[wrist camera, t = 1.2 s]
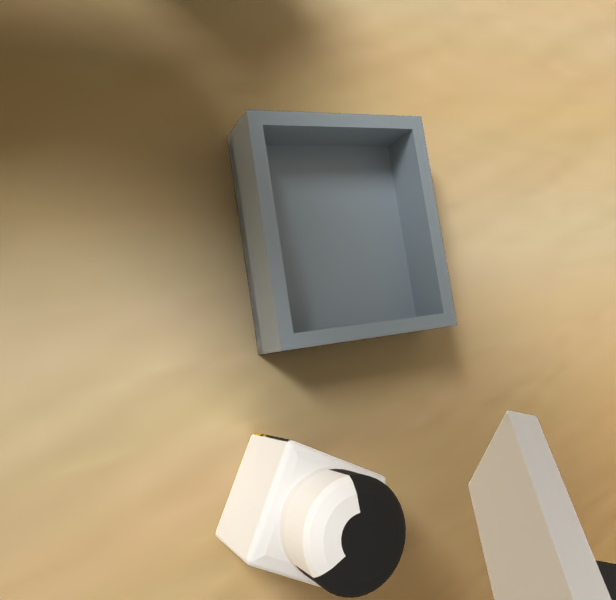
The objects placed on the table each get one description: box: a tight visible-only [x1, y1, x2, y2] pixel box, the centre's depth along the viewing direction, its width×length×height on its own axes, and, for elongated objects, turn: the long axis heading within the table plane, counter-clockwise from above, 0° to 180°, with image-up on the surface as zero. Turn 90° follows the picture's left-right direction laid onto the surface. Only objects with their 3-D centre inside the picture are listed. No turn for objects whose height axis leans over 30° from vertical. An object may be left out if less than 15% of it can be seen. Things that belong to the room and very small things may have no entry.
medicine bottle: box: [216, 433, 406, 597], centre depth 35 cm, size 7×7×12 cm
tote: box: [228, 110, 457, 355], centre depth 43 cm, size 16×14×4 cm
